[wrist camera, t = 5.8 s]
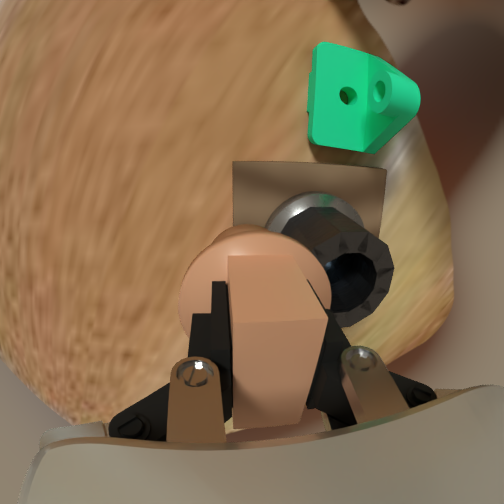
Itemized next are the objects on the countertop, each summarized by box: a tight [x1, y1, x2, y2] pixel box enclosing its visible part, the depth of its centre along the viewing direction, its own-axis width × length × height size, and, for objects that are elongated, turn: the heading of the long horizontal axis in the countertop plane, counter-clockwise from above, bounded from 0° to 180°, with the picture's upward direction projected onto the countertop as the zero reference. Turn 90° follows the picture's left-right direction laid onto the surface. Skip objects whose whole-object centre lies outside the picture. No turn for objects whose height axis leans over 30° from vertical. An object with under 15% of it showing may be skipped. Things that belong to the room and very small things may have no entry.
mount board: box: [233, 161, 387, 238], centre depth 33 cm, size 18×18×2 cm
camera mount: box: [307, 42, 421, 154], centre depth 23 cm, size 12×8×10 cm, turn 176°
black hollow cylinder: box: [264, 191, 394, 328], centre depth 27 cm, size 12×12×10 cm
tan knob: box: [178, 224, 331, 429], centre depth 12 cm, size 6×6×9 cm
